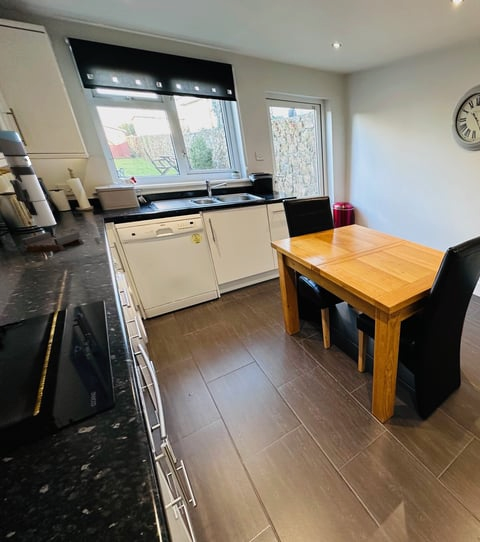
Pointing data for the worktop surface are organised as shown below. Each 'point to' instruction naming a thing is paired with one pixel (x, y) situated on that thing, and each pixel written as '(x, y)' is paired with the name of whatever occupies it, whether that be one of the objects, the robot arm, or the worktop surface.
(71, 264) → the worktop surface
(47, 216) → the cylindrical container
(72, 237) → the rack
